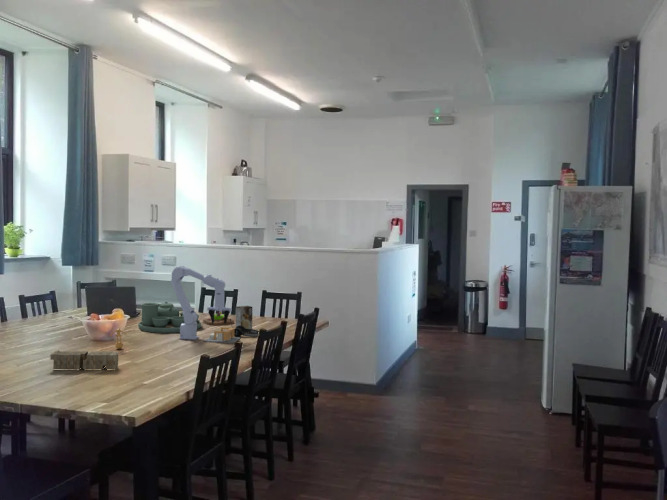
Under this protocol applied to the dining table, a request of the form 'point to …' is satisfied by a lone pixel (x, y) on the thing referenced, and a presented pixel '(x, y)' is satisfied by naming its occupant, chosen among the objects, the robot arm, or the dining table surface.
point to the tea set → (162, 318)
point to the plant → (218, 320)
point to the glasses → (225, 333)
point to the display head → (221, 338)
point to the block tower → (84, 359)
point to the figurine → (118, 344)
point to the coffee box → (244, 316)
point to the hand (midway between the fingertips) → (219, 322)
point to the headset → (241, 331)
